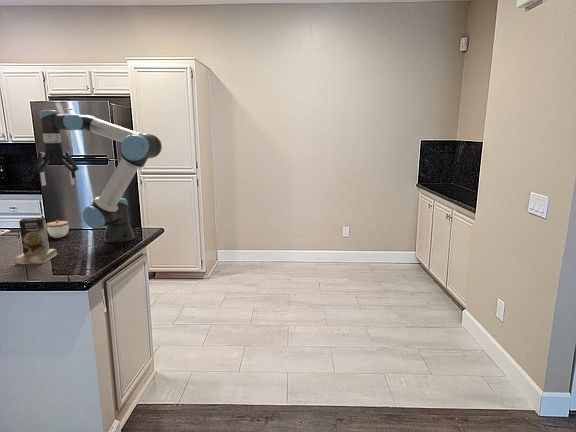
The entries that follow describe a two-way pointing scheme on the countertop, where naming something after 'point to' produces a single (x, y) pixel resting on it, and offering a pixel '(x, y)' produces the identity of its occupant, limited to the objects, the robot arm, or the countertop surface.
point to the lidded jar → (57, 228)
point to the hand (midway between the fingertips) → (58, 185)
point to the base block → (36, 257)
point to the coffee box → (34, 236)
